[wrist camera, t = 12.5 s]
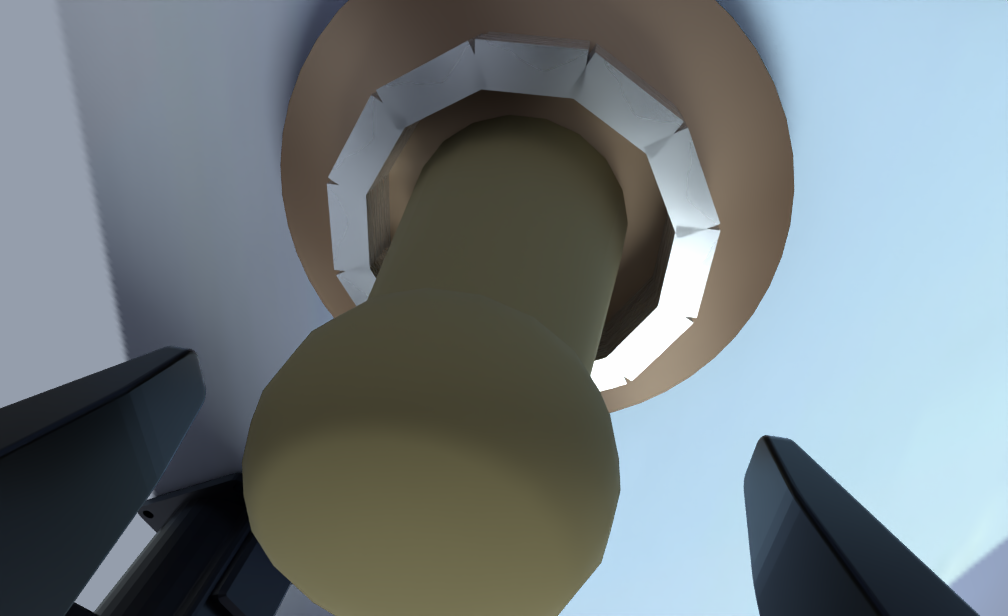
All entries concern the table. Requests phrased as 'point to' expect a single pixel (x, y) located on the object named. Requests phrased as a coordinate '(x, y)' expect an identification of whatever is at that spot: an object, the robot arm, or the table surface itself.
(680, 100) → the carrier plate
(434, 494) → the cork
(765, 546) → the robot arm
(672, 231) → the socket ring
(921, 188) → the table surface
